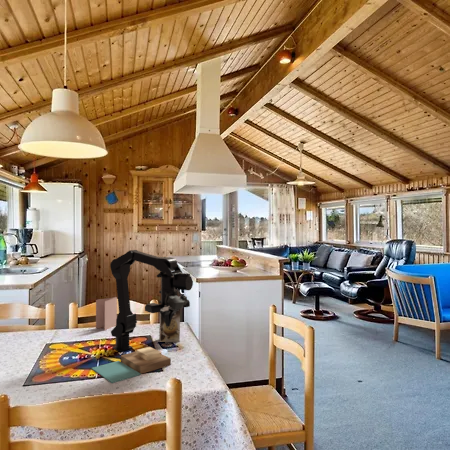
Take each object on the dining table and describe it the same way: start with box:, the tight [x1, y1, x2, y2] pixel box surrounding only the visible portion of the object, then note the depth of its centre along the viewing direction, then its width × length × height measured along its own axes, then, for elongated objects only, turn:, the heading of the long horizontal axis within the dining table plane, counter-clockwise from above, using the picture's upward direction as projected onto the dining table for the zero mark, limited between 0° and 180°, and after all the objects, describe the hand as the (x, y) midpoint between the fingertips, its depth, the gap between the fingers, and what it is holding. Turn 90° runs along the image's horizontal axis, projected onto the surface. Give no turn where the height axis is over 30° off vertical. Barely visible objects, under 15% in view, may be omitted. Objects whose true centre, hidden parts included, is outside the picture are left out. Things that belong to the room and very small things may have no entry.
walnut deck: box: [120, 351, 172, 375], centre depth 147 cm, size 16×13×2 cm
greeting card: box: [95, 296, 118, 331], centre depth 197 cm, size 11×7×15 cm, turn 130°
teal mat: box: [91, 360, 141, 384], centre depth 139 cm, size 17×11×1 cm, turn 42°
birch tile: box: [135, 346, 162, 361], centre depth 148 cm, size 9×6×2 cm, turn 42°
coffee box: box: [158, 309, 181, 343], centre depth 176 cm, size 9×6×16 cm
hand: (167, 326), depth 154 cm, fingers closed
